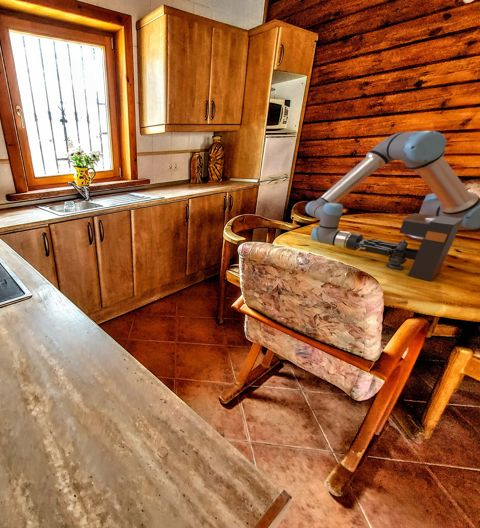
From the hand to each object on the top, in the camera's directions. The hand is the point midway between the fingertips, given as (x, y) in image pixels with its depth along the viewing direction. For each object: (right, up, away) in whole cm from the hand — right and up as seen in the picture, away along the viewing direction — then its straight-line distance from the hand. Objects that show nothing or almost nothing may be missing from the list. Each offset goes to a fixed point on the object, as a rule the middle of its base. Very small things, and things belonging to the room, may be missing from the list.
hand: (417, 255), depth 109 cm
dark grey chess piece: (-2, -5, +7) cm, 9 cm away
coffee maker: (0, -6, +3) cm, 7 cm away
